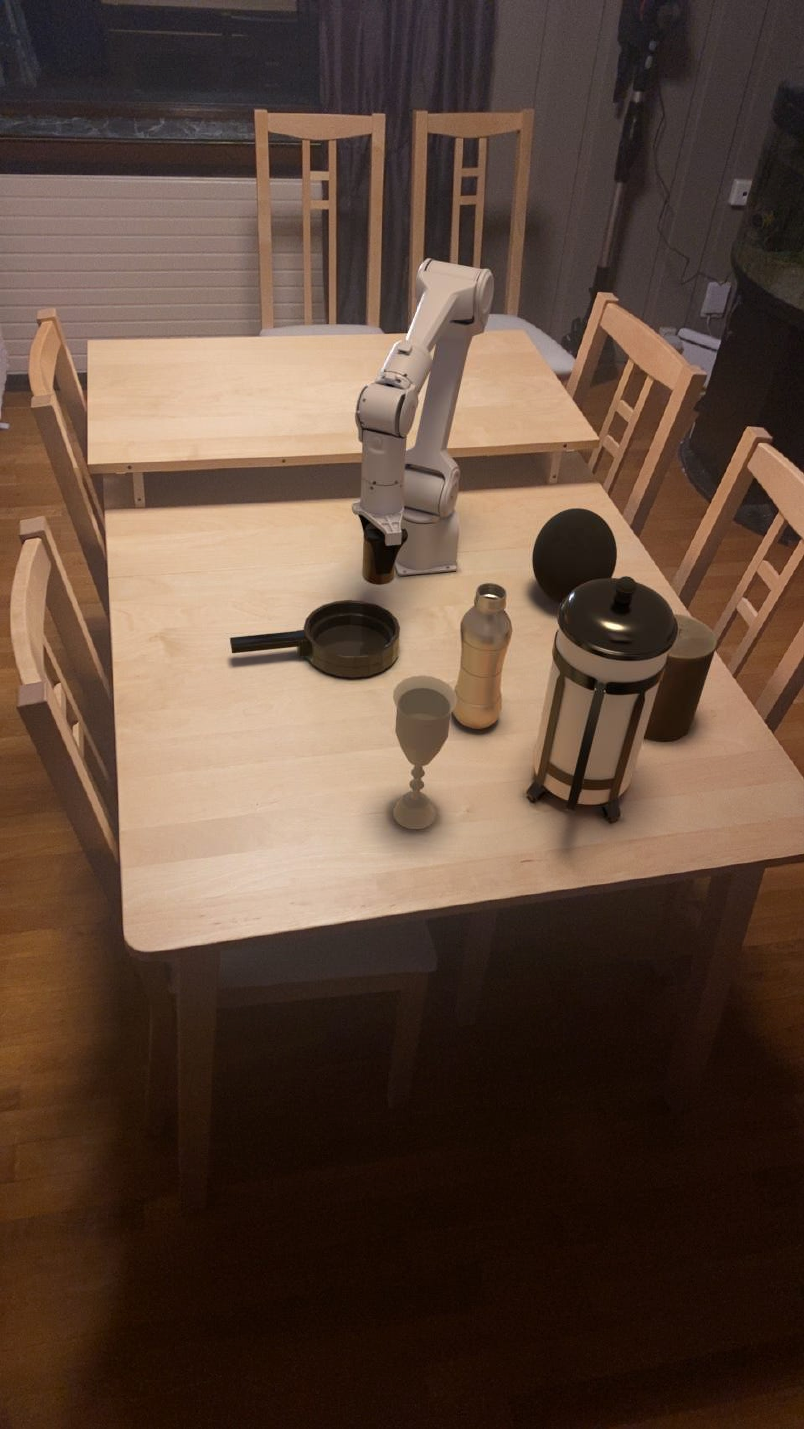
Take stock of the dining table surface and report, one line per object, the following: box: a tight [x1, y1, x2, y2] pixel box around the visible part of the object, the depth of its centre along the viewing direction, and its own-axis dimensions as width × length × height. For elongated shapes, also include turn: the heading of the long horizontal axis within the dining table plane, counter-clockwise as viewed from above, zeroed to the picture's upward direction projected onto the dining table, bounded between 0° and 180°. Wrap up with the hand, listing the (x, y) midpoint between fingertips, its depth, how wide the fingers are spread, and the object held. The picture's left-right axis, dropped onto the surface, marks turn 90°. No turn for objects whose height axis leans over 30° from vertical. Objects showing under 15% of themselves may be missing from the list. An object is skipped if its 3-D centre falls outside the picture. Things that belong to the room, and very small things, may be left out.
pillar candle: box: [644, 613, 718, 742], centre depth 129 cm, size 10×10×15 cm
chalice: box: [392, 675, 457, 830], centre depth 112 cm, size 7×7×18 cm
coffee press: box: [525, 575, 678, 822], centre depth 113 cm, size 17×16×30 cm
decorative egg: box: [531, 507, 618, 605], centre depth 148 cm, size 12×12×15 cm
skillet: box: [303, 599, 401, 678], centre depth 140 cm, size 13×13×4 cm
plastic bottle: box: [452, 582, 513, 730], centre depth 125 cm, size 6×7×20 cm
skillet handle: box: [229, 629, 307, 658], centre depth 137 cm, size 10×3×3 cm, turn 104°
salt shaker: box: [361, 523, 396, 586], centre depth 140 cm, size 5×5×8 cm
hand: (378, 562), depth 141 cm, fingers closed on salt shaker, 4 cm apart
